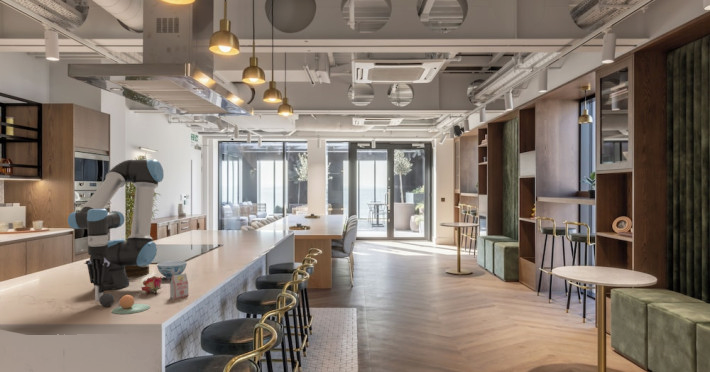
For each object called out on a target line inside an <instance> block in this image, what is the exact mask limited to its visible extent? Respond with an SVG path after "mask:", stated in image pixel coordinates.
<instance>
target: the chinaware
mask: <svg viewBox="0 0 710 372" xmlns="http://www.w3.org/2000/svg"><path fill="white" fill-rule="evenodd" d="M187 263H188V262H187V261H185V260H169V261H162V262H159V263H157V264H156V266H157V269H158V270H157V271H158V272H159V273H160V274H161V275H162V276H164V277H165V279H168V280H171V279H172V276H175V275H180V274H184V273H183V272H184V271H185V270H186V267H187Z"/></svg>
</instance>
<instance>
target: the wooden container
mask: <svg viewBox="0 0 710 372" xmlns="http://www.w3.org/2000/svg"><path fill="white" fill-rule="evenodd" d="M125 271H126V274H127V276H128V278H133V277H134V278H135V277H141V276H147V275H148V274H150V264H149V265H143V266H125Z"/></svg>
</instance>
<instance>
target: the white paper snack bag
mask: <svg viewBox="0 0 710 372" xmlns="http://www.w3.org/2000/svg"><path fill="white" fill-rule="evenodd" d="M169 292H170V293H169V296H170V298H171V299H175V300H176V299H180V298H185V297H188V296H189V280H188V277H187V273H181V274H180V275H175V276H172V279H170V284H169Z"/></svg>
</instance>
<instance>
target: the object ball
mask: <svg viewBox="0 0 710 372" xmlns="http://www.w3.org/2000/svg"><path fill="white" fill-rule="evenodd" d="M133 304H135V297H133V296H132V295H130V294H125V295H123V296H121V298H120V299H119V307H122V308H125V309H128V308H130V307H132V306H133Z"/></svg>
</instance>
